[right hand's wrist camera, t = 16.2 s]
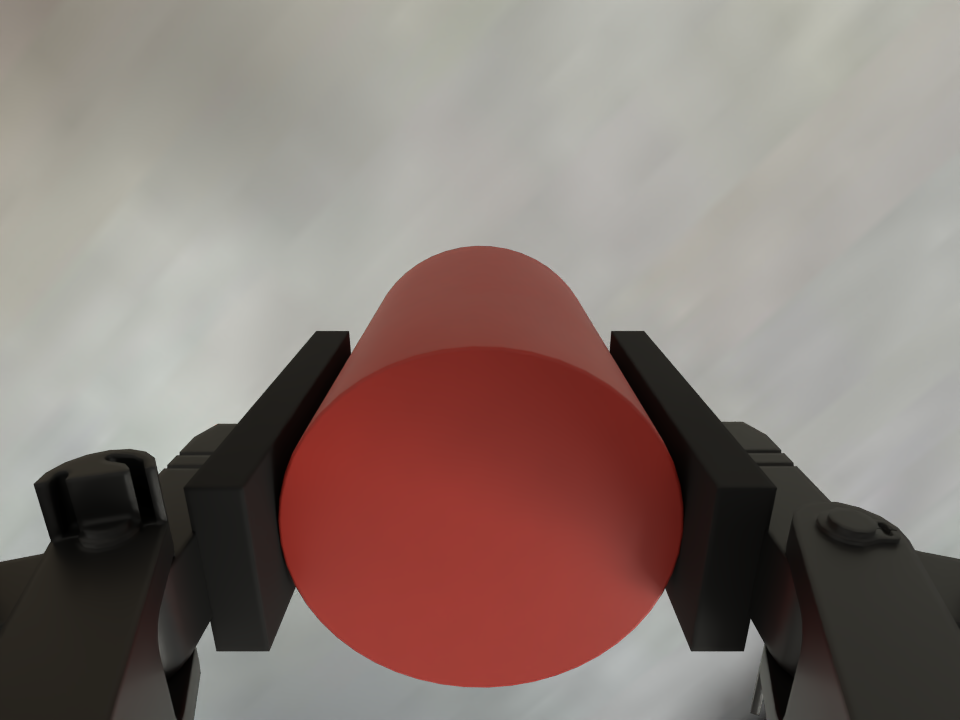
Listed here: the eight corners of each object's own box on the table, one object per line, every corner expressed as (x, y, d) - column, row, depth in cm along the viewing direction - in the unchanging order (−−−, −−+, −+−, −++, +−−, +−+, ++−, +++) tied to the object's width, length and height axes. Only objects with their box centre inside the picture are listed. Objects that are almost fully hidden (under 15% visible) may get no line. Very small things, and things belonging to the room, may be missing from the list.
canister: (346, 266, 15) (221, 386, 8) (577, 226, 15) (673, 313, 8) (396, 467, 17) (335, 709, 10) (601, 436, 17) (694, 663, 10)
